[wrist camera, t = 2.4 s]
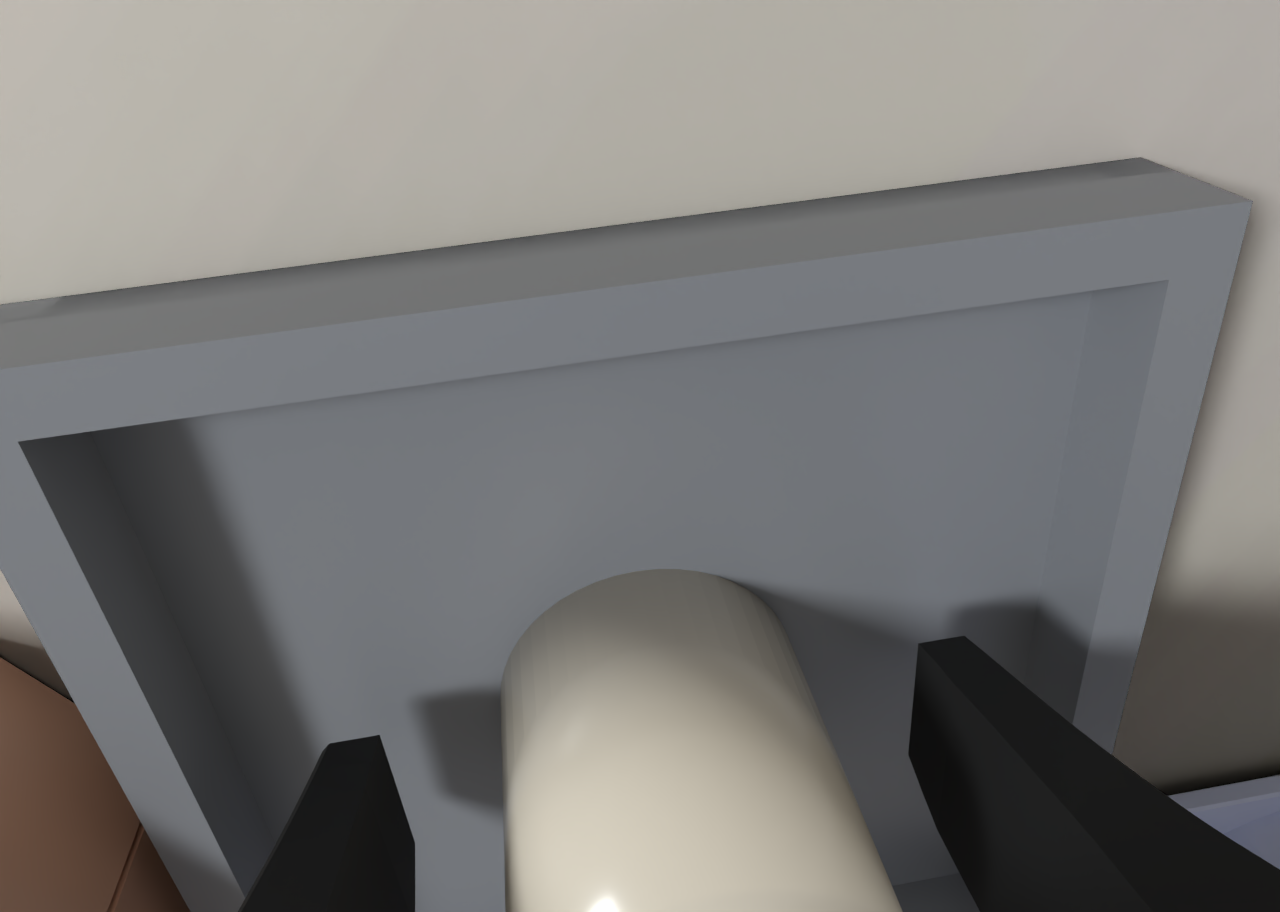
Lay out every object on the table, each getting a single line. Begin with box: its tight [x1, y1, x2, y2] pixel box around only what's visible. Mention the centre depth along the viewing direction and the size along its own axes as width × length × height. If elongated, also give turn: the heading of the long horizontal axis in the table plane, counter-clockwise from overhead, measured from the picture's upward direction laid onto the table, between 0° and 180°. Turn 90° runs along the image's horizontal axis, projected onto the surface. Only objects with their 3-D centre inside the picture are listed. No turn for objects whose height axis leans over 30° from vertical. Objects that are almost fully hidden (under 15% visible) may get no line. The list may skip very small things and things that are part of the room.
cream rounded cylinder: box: [500, 569, 903, 912], centre depth 11 cm, size 4×4×4 cm
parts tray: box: [0, 157, 1253, 912], centre depth 12 cm, size 12×12×2 cm
